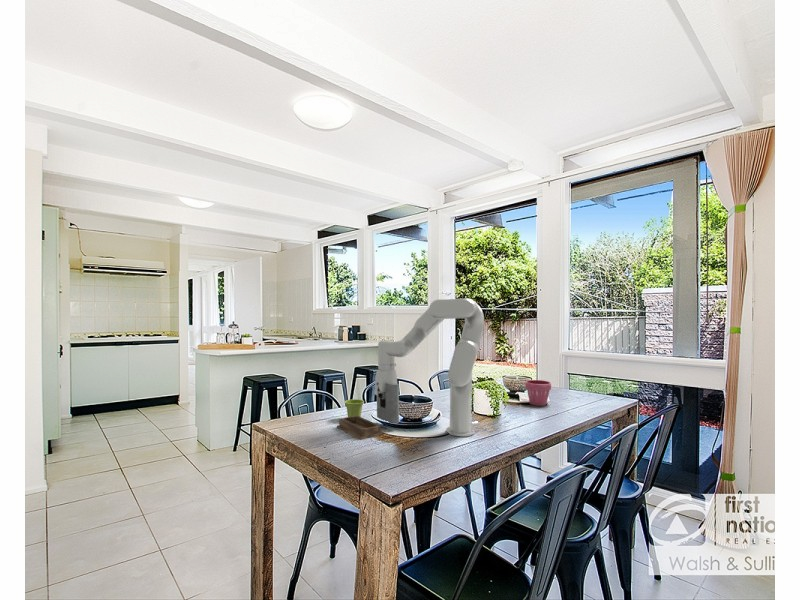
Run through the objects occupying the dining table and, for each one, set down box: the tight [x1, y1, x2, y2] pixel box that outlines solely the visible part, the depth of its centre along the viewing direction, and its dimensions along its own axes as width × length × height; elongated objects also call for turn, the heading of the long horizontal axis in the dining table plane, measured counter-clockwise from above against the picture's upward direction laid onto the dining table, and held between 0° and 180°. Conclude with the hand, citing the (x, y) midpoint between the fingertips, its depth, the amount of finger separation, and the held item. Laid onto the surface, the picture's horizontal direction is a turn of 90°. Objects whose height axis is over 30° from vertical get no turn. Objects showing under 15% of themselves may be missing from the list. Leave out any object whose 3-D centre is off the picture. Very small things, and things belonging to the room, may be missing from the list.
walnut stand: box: [336, 416, 384, 440], centre depth 190 cm, size 12×20×4 cm, turn 37°
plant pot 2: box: [524, 379, 552, 407], centre depth 245 cm, size 14×14×13 cm
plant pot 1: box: [344, 398, 365, 417], centre depth 209 cm, size 9×9×9 cm
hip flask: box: [376, 382, 400, 425], centre depth 198 cm, size 16×4×20 cm, turn 35°
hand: (386, 406), depth 198 cm, fingers closed on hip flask, 3 cm apart
